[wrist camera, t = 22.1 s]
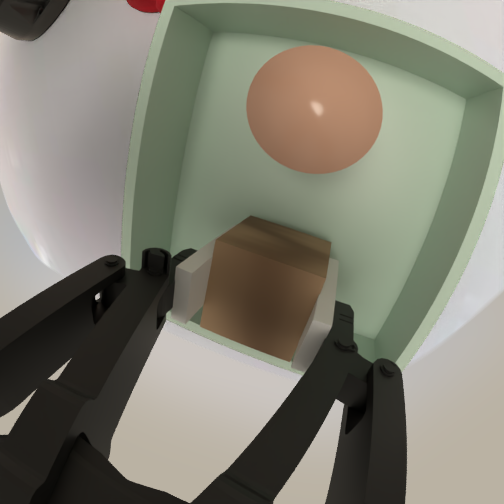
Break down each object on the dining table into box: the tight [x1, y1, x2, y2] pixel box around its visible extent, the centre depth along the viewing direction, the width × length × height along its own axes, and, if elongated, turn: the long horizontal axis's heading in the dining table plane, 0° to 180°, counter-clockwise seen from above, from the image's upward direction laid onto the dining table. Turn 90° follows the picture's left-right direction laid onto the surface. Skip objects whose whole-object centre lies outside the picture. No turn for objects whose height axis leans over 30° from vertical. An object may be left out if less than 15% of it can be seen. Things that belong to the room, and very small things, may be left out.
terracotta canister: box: [246, 45, 383, 174], centre depth 12 cm, size 5×5×7 cm
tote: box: [121, 0, 504, 375], centre depth 15 cm, size 19×20×6 cm
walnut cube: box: [200, 215, 332, 362], centre depth 15 cm, size 5×5×5 cm
